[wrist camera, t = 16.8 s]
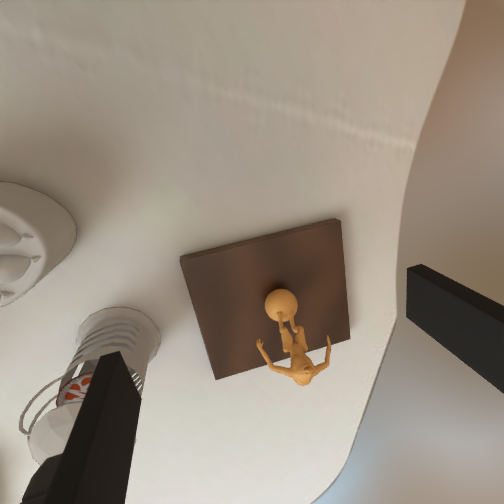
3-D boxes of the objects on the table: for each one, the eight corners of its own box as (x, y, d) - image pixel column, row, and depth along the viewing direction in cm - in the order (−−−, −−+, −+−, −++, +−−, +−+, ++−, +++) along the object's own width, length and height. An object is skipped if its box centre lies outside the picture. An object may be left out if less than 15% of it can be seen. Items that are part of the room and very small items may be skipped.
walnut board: (214, 372, 42) (215, 380, 40) (179, 256, 35) (179, 261, 34) (345, 333, 44) (350, 339, 43) (335, 218, 38) (341, 220, 36)
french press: (169, 361, 40) (144, 659, 17) (78, 386, 38) (-87, 754, 15) (147, 298, 36) (76, 564, 13) (46, 323, 35) (-236, 675, 12)
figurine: (309, 283, 38) (358, 338, 27) (302, 323, 40) (346, 390, 29) (246, 283, 37) (272, 342, 25) (242, 326, 38) (264, 398, 27)
